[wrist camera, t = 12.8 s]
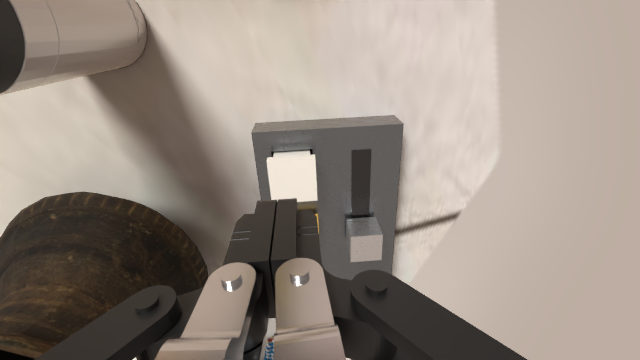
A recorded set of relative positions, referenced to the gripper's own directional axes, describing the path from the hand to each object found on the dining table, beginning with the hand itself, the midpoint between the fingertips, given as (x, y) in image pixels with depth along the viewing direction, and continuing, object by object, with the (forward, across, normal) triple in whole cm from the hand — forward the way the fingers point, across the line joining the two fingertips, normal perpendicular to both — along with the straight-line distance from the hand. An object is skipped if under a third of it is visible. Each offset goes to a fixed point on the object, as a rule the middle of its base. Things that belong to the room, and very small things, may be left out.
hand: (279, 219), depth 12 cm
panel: (+29, -4, +18) cm, 34 cm away
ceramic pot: (+29, +25, +21) cm, 44 cm away
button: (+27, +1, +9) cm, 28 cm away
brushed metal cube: (+24, -8, +19) cm, 32 cm away
